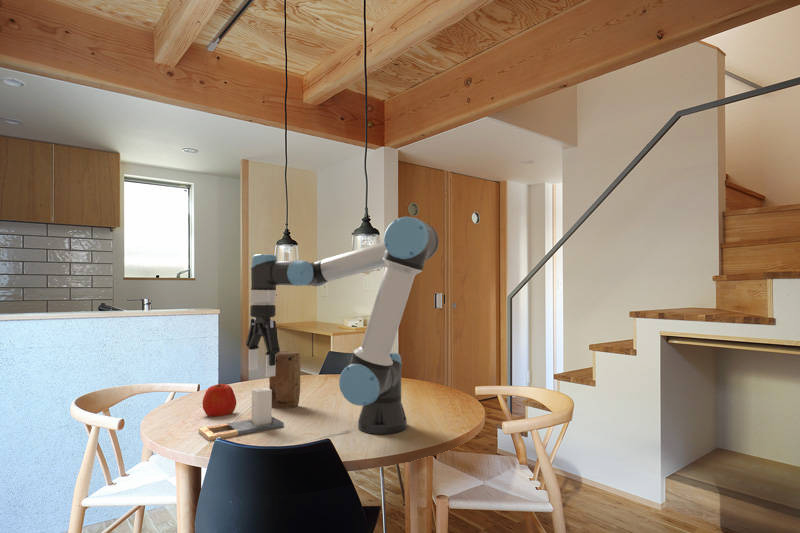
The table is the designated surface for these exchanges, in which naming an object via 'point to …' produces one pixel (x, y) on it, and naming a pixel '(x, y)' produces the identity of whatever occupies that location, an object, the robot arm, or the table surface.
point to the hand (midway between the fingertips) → (261, 373)
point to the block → (286, 380)
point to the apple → (219, 400)
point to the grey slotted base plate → (237, 429)
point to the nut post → (261, 406)
